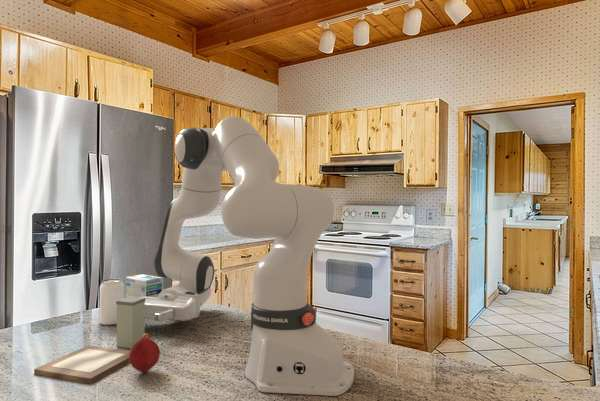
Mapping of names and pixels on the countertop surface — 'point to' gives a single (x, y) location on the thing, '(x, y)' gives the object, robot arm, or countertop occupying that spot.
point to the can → (110, 300)
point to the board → (85, 364)
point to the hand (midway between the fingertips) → (141, 316)
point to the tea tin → (130, 321)
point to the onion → (144, 354)
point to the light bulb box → (143, 286)
